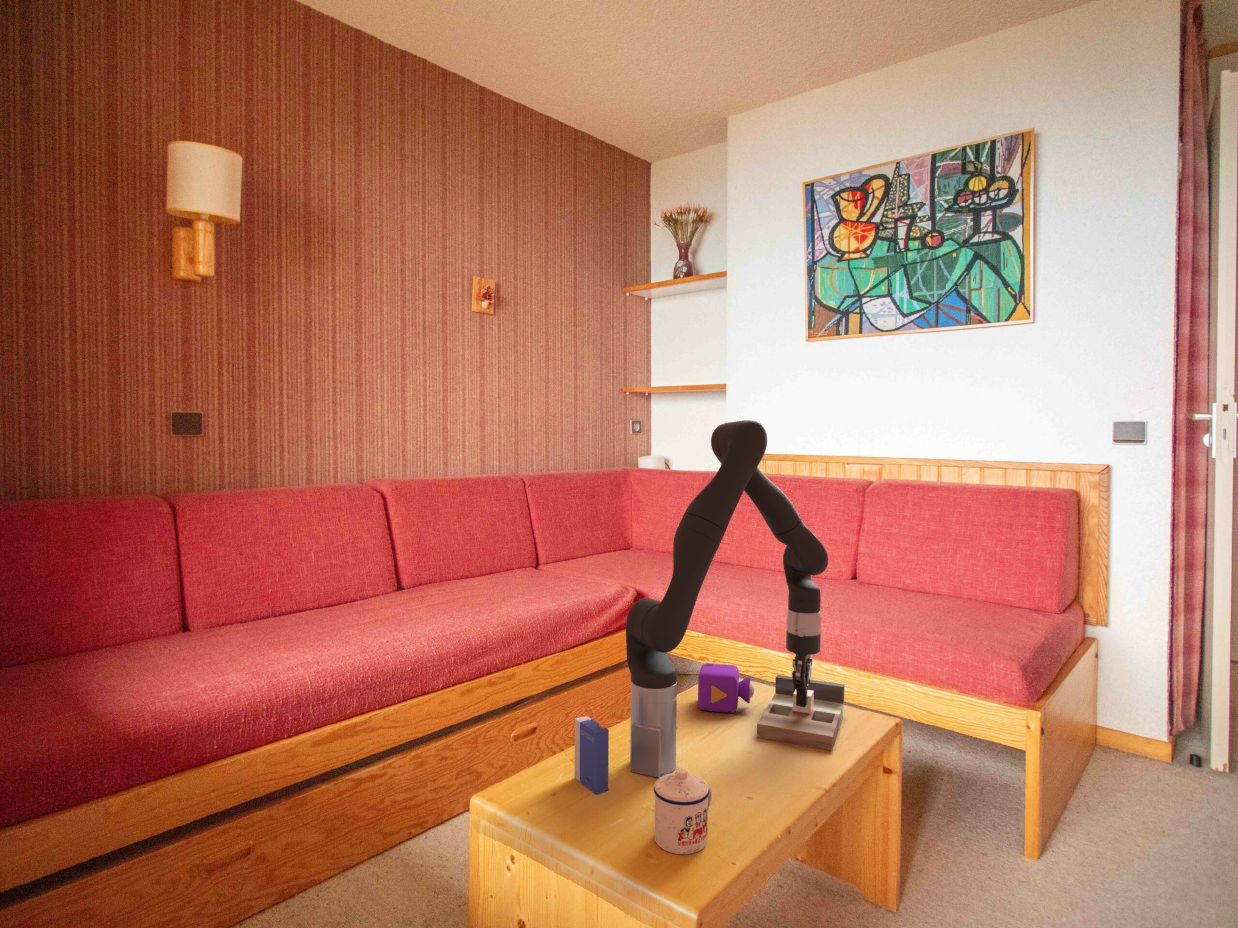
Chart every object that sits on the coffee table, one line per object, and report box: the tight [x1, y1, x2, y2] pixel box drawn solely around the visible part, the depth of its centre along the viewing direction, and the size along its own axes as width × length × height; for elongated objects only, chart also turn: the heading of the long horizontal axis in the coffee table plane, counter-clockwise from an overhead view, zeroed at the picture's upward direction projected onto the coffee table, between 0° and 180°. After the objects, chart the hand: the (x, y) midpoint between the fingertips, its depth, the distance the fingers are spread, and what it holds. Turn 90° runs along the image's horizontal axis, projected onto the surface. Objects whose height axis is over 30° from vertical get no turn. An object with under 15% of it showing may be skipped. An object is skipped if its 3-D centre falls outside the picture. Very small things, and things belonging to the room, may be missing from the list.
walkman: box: [574, 715, 610, 796], centre depth 134 cm, size 8×3×12 cm, turn 34°
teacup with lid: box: [653, 767, 713, 855], centre depth 116 cm, size 12×9×12 cm
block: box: [793, 690, 814, 714], centre depth 163 cm, size 4×4×4 cm
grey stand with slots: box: [756, 674, 845, 752], centre depth 162 cm, size 22×16×7 cm
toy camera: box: [697, 660, 755, 714], centre depth 172 cm, size 11×14×10 cm
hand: (801, 705), depth 160 cm, fingers closed
